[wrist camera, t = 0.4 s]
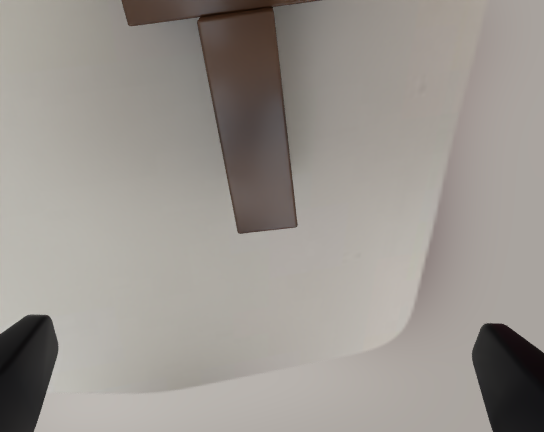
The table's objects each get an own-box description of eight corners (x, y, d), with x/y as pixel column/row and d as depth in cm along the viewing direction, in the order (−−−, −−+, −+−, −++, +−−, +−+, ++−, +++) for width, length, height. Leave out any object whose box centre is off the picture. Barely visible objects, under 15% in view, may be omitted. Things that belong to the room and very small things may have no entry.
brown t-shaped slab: (341, 178, 21) (355, 221, 18) (193, 195, 22) (181, 241, 18) (323, -187, 15) (341, -222, 11) (108, -153, 15) (66, -178, 12)
